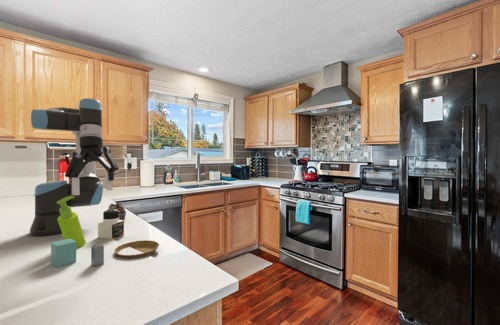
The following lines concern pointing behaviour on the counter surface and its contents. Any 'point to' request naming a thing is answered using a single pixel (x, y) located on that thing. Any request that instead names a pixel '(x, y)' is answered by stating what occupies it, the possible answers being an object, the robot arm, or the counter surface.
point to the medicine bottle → (111, 225)
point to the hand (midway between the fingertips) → (92, 192)
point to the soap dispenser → (70, 223)
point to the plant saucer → (139, 248)
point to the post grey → (97, 255)
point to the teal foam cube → (63, 252)
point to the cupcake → (119, 208)
